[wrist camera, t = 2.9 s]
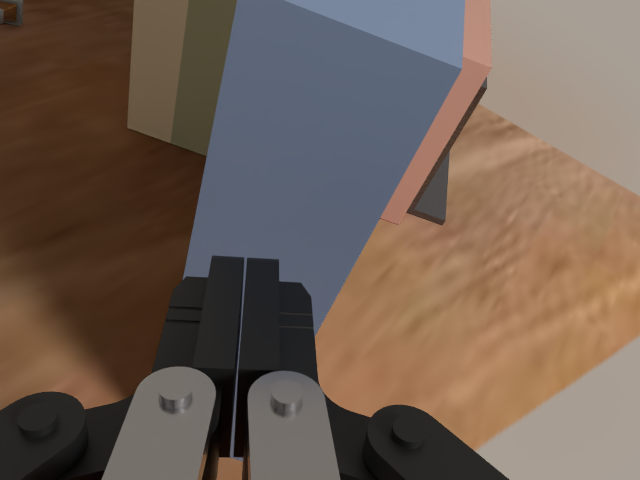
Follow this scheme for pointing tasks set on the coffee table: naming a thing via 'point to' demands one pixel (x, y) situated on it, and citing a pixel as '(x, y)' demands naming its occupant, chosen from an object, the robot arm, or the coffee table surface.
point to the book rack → (207, 70)
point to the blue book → (319, 132)
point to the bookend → (440, 175)
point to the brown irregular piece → (11, 12)
